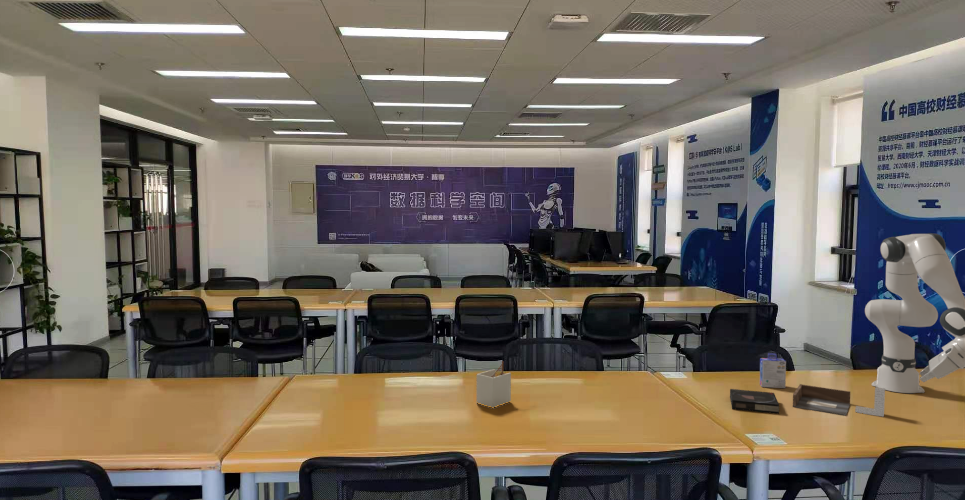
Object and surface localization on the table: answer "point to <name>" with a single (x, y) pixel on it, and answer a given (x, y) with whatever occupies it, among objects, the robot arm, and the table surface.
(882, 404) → the angle bracket
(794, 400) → the corner arena
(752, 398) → the flat black box
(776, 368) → the ink cartridge box
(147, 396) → the table surface
